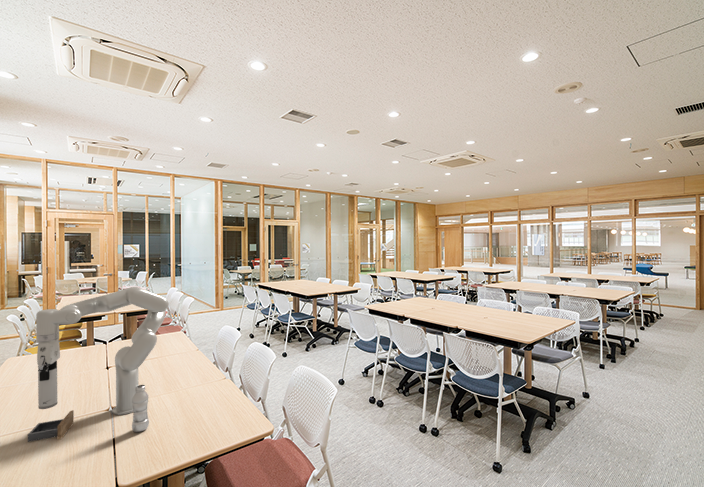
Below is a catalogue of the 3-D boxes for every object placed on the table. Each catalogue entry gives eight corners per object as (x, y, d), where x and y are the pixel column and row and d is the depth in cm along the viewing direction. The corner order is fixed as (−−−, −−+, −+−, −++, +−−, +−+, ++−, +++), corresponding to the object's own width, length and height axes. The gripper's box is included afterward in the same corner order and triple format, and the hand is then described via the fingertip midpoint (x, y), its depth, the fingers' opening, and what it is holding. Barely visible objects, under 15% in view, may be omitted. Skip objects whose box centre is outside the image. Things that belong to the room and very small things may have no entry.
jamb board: (73, 422, 155) (73, 410, 155) (61, 439, 142) (61, 425, 142) (70, 423, 155) (70, 410, 155) (57, 439, 142) (57, 426, 142)
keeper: (67, 425, 153) (67, 418, 153) (59, 436, 145) (58, 429, 145) (38, 430, 149) (38, 423, 149) (27, 442, 140) (27, 434, 140)
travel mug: (46, 410, 143) (46, 364, 143) (34, 408, 144) (34, 363, 144) (61, 403, 149) (61, 359, 149) (50, 401, 151) (49, 358, 150)
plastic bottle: (152, 427, 151) (152, 384, 151) (138, 435, 145) (138, 390, 145) (142, 424, 153) (142, 382, 153) (128, 432, 147) (127, 388, 147)
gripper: (49, 341, 140) (50, 383, 140) (66, 331, 156) (66, 369, 156) (27, 343, 137) (27, 386, 137) (46, 333, 153) (46, 371, 153)
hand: (48, 376), depth 147 cm, fingers closed on travel mug, 6 cm apart
